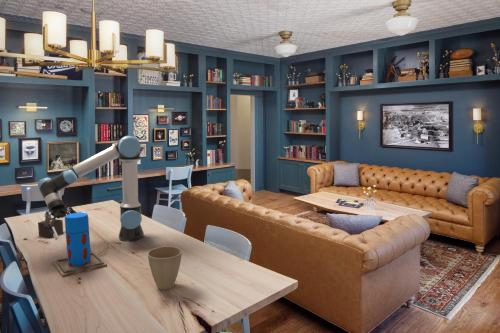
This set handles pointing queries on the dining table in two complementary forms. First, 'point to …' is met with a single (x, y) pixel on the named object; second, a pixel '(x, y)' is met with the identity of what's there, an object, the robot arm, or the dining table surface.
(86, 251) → the thermos
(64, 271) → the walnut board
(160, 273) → the plant pot
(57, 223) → the manual coffee grinder
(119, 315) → the dining table surface
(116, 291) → the dining table surface
